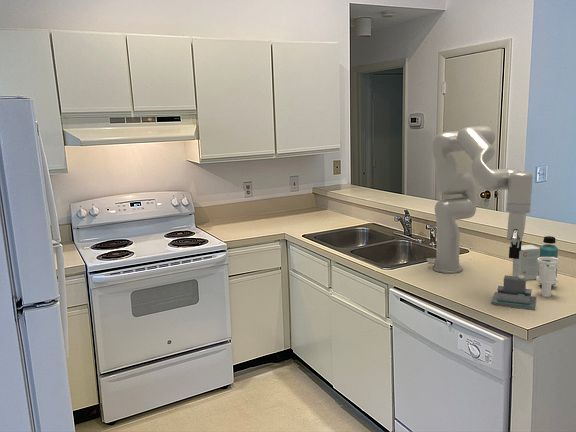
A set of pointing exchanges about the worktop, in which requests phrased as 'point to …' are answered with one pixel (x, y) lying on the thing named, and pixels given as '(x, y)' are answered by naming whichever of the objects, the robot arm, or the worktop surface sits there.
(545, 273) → the clear white hollow cylinder
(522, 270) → the small box
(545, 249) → the beverage bottle
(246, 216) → the worktop surface
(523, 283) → the lever
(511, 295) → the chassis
